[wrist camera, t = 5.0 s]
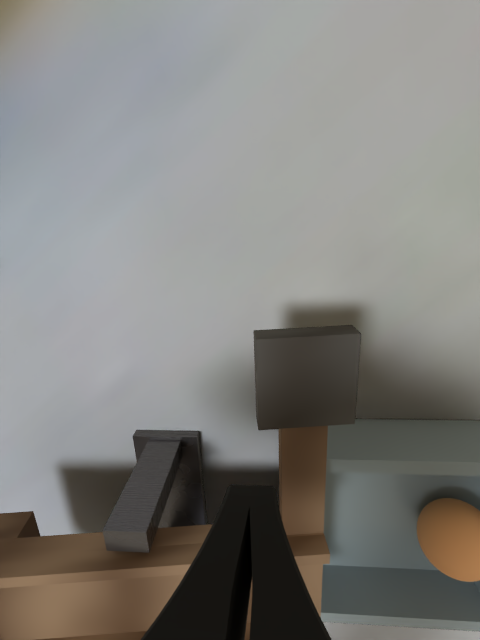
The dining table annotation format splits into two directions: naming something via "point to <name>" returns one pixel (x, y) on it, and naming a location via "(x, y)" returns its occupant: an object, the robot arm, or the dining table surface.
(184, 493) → the stand
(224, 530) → the robot arm
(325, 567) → the tray
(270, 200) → the dining table surface
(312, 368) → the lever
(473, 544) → the ball
